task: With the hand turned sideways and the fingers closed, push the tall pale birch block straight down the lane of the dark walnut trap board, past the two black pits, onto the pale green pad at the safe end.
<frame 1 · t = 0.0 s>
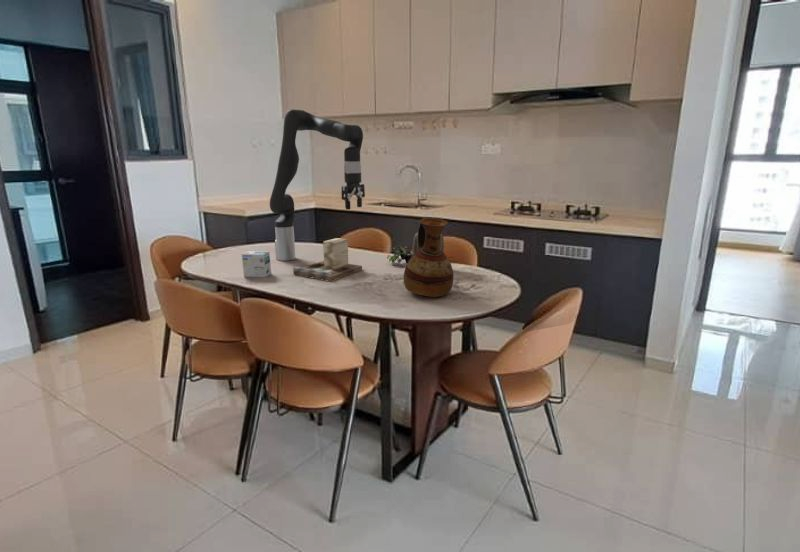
hand: (353, 208, 212), 29 cm above the table, tool pointing down, fingers open, 8 cm apart
trap board: (328, 272, 217), on the table
light bulb box: (257, 275, 213), on the table
tabletop clock: (427, 270, 220), on the table
ceramic pitcher: (428, 293, 186), on the table
birch block: (336, 265, 222), point 2 cm above the table, touching trap board
passion flower: (401, 265, 230), on the table
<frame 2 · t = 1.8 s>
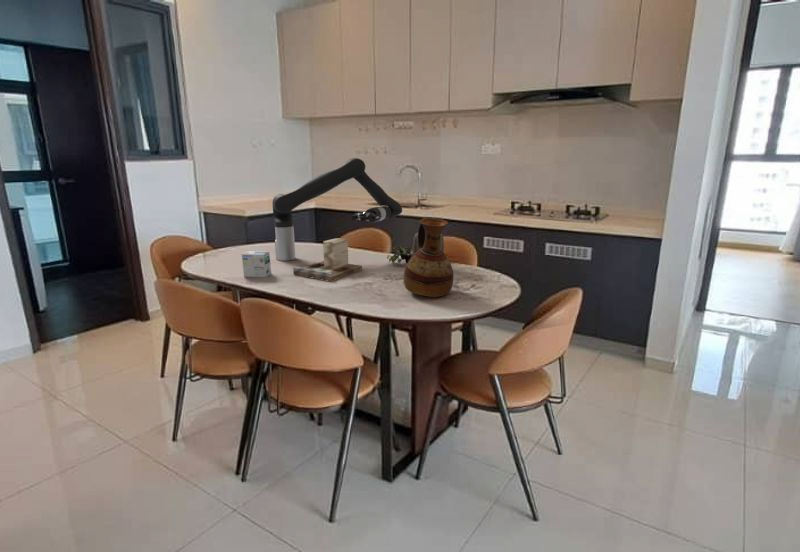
hand: (356, 218, 230), 22 cm above the table, tool horizontal, fingers open, 5 cm apart
nothing on the table moved.
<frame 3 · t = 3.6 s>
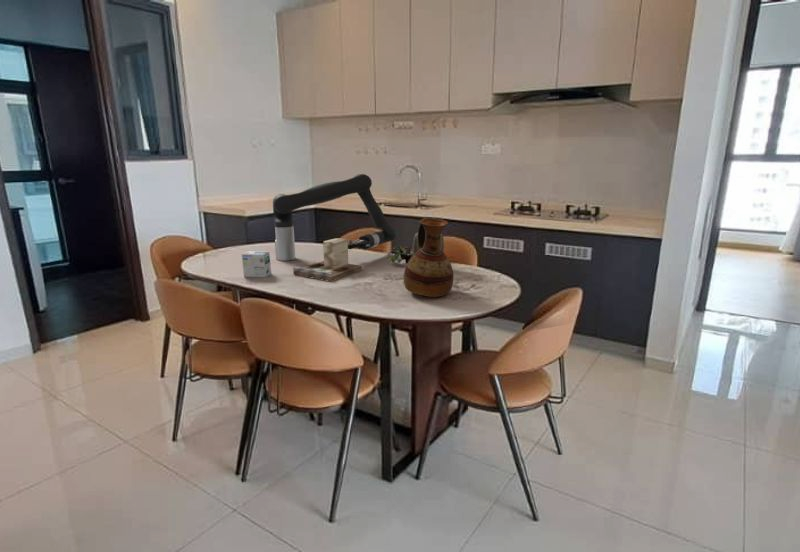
hand: (348, 247, 228), 9 cm above the table, tool horizontal, fingers closed
nothing on the table moved.
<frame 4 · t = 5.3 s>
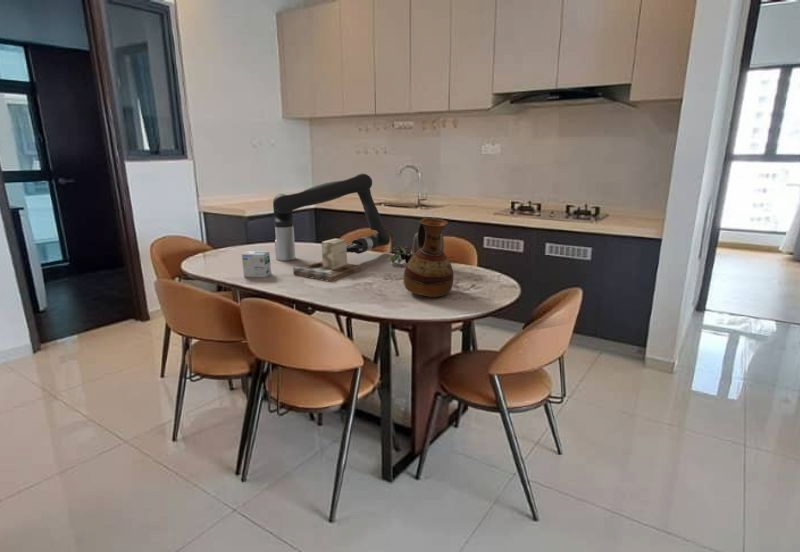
hand: (341, 251, 223), 8 cm above the table, tool horizontal, fingers closed
birch block: (335, 265, 221), point 2 cm above the table, touching gripper
everything else where it was.
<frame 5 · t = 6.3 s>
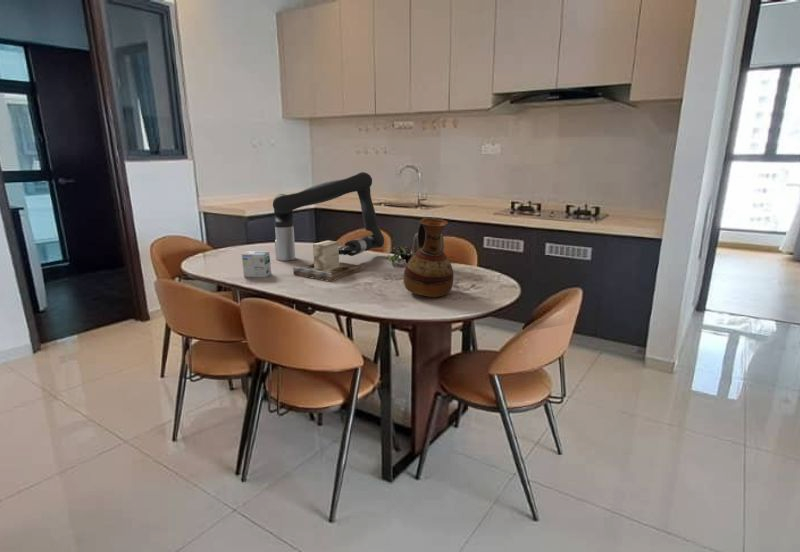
hand: (333, 253, 219), 8 cm above the table, tool horizontal, fingers closed
birch block: (326, 268, 216), point 2 cm above the table, touching gripper
everything else where it was.
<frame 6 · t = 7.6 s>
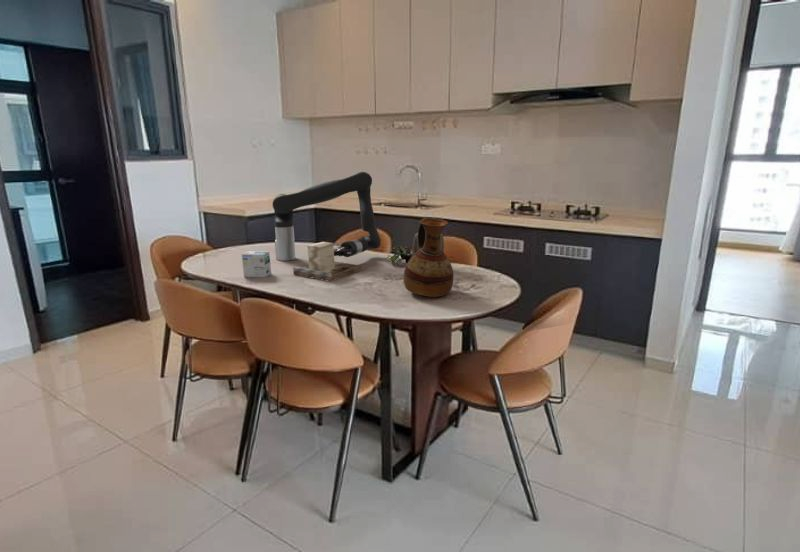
hand: (328, 254, 216), 8 cm above the table, tool horizontal, fingers closed
birch block: (322, 270, 213), point 2 cm above the table, touching gripper, trap board
everything else where it was.
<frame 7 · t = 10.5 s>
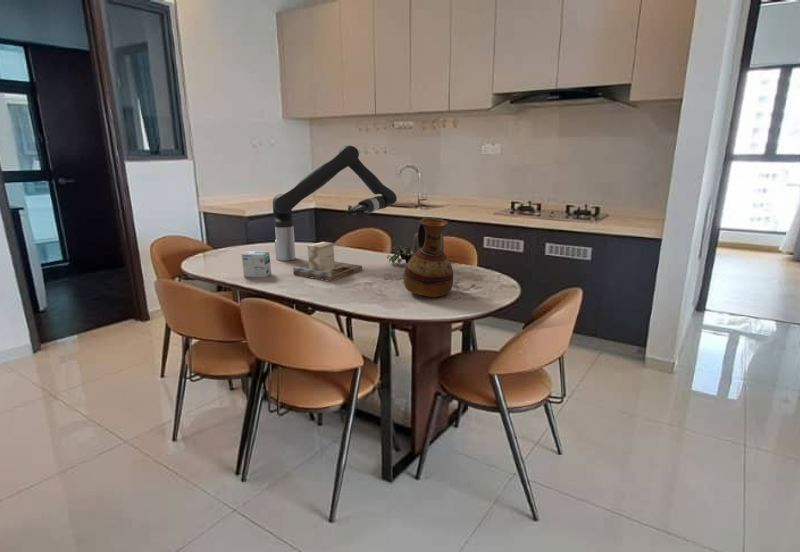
hand: (346, 213, 227), 25 cm above the table, tool horizontal, fingers closed
birch block: (322, 270, 213), point 2 cm above the table, touching trap board
everything else where it was.
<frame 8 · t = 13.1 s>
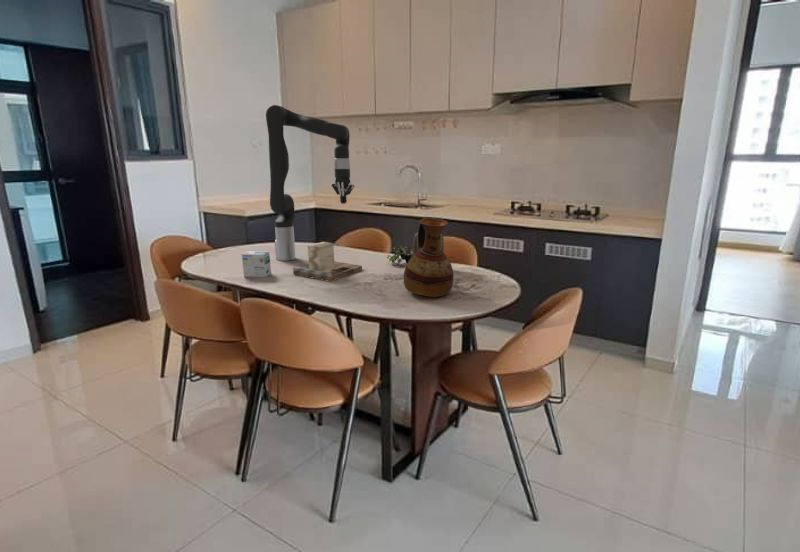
hand: (343, 203, 232), 29 cm above the table, tool pointing down, fingers closed
nothing on the table moved.
at the end: birch block 0.1 cm from the target spot on the trap board, point 2.0 cm above the trap board's base; birch block tilted 0°; birch block moved 10.4 cm from its start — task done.
